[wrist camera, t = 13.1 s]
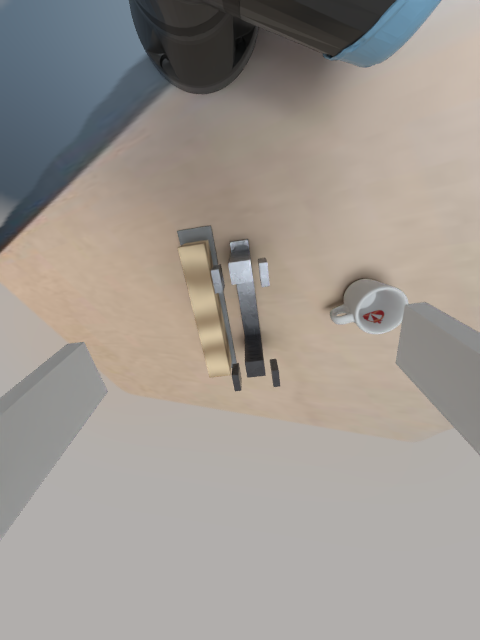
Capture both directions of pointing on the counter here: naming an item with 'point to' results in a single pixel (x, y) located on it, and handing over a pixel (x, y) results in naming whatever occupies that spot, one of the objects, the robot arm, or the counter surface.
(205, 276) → the rail
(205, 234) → the grey base plate
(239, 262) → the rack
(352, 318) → the cup
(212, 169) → the counter surface
